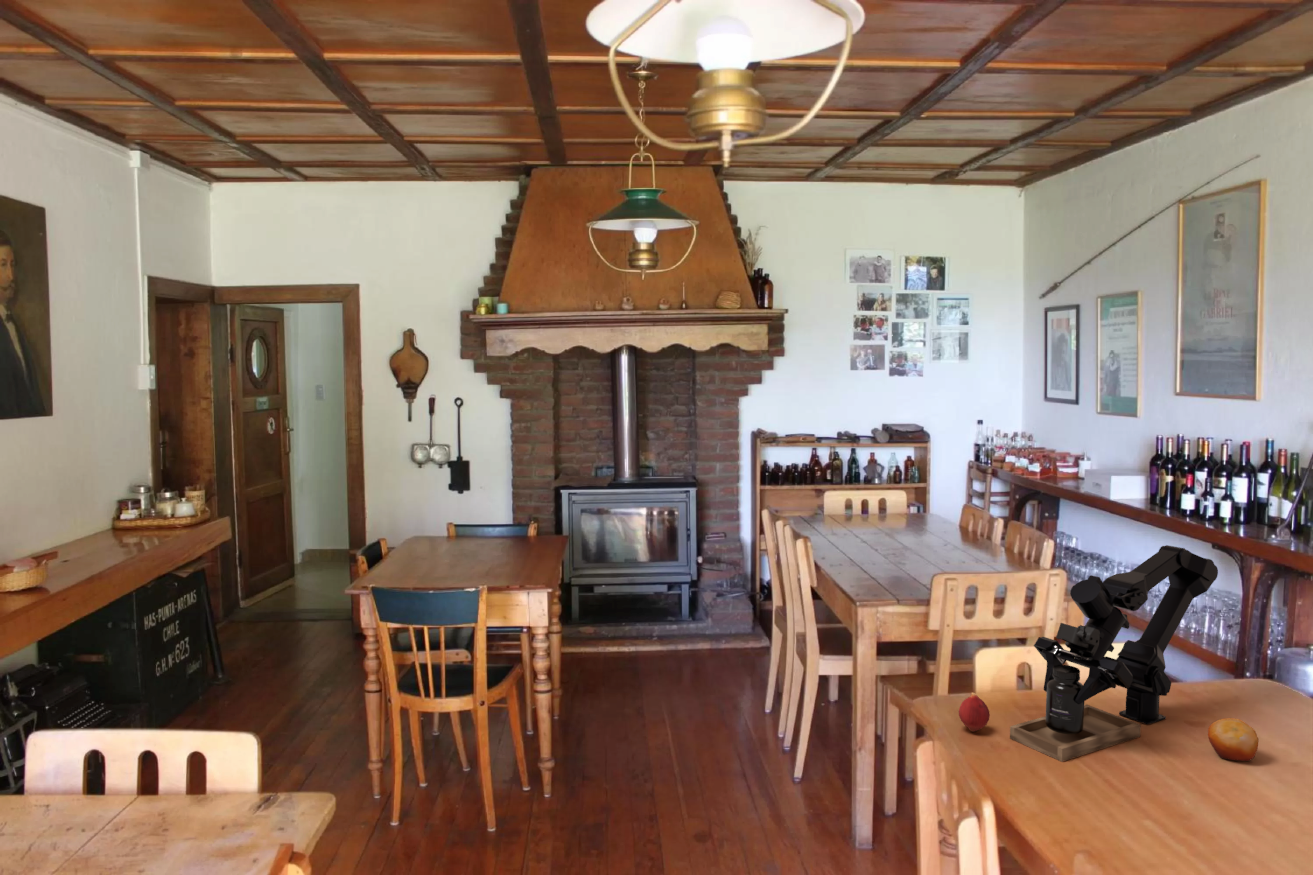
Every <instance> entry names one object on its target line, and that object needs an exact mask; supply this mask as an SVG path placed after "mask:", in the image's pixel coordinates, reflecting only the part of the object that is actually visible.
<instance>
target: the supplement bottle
mask: <svg viewBox="0 0 1313 875" xmlns="http://www.w3.org/2000/svg"><path fill="white" fill-rule="evenodd" d="M1052 676H1053V677H1054V678H1053V679H1051V680H1049V681H1048V683H1047V692H1045V693H1046V694H1045V695H1046V696H1045V716H1046V726H1047V727H1048V728H1049V729H1051V730H1053V731H1055V732H1058V733H1062V734H1078V733H1080V732H1082V730H1083V724H1084V705H1085V701H1084V702H1082V703H1080V704H1077V703H1076V702H1075V699H1076V697H1077V695H1078V693H1079V691H1080V690H1081V688H1082V686H1083V685H1084V684H1083V683H1081V682H1080V680H1081V670H1080V668H1078V667H1077V666H1076V667H1075V666H1072V665H1067V664H1063V665H1056V666H1054V667H1053V674H1052Z"/></svg>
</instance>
